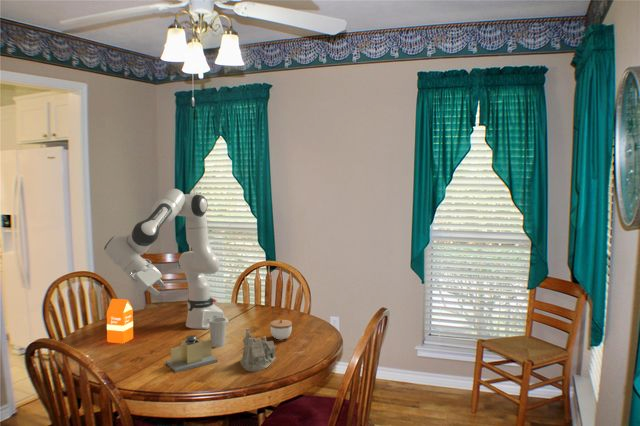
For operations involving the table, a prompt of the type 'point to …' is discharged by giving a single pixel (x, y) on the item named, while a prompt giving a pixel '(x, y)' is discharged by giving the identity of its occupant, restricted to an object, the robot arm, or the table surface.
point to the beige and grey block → (191, 352)
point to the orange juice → (119, 321)
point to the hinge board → (185, 366)
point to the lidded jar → (281, 328)
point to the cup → (217, 331)
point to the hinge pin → (191, 339)
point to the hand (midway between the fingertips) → (161, 291)
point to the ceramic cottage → (257, 353)
